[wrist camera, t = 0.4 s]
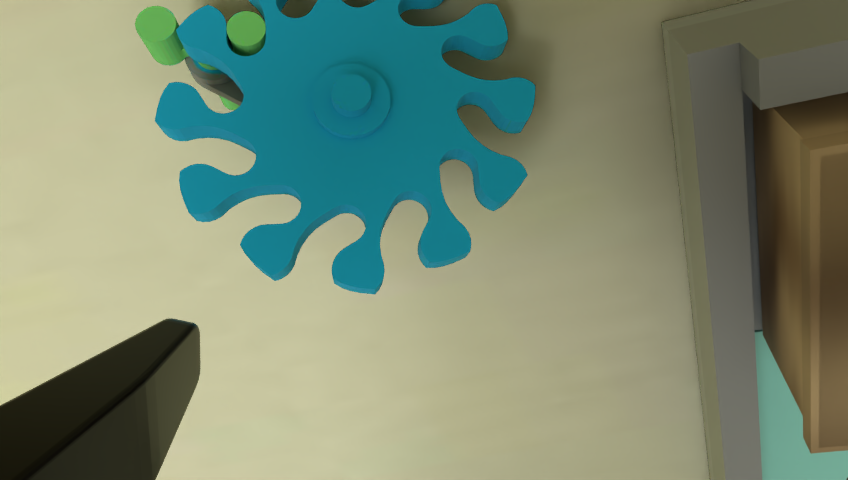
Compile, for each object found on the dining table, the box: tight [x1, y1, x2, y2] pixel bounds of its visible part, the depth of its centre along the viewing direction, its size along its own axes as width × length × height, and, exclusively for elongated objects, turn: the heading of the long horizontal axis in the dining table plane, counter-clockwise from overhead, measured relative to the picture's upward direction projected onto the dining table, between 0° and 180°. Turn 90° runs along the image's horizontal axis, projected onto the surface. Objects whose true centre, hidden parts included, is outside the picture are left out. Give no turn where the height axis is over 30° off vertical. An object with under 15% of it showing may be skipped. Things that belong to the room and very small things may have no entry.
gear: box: [135, 0, 535, 294], centre depth 20 cm, size 11×6×10 cm
